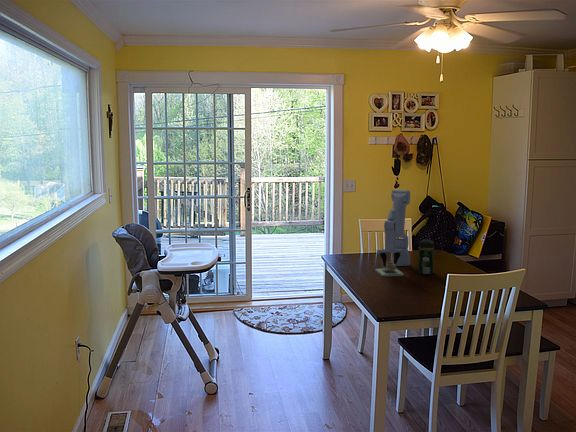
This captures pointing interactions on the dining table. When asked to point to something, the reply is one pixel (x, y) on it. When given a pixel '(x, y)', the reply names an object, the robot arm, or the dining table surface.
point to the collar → (390, 266)
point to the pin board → (389, 272)
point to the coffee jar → (426, 257)
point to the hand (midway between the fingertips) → (389, 266)
